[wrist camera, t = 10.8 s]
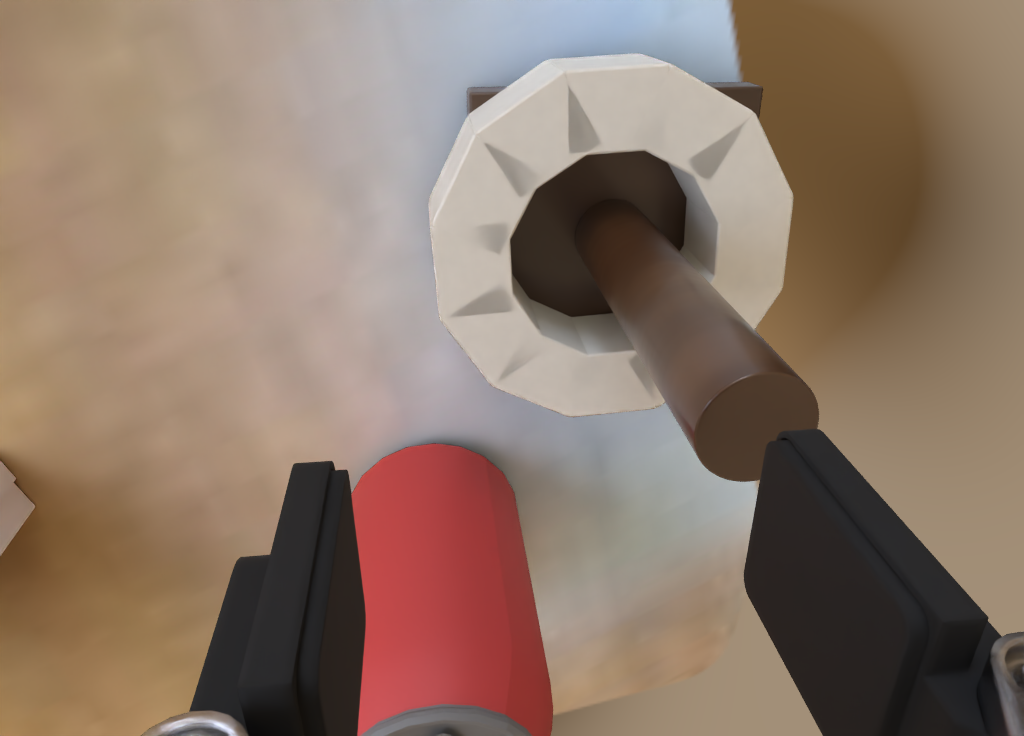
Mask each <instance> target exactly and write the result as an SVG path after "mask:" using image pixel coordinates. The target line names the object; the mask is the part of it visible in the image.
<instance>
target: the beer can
mask: <svg viewBox="0 0 1024 736" xmlns="http://www.w3.org/2000/svg"><path fill="white" fill-rule="evenodd" d="M351 497H352V505H353V513H354V521H355V529H356V537H357V544H358V552H359V560H360V568H361V576H362V584H363V592H364V600H365V611H366V630H365V643H364V656H363V669H362V682H361V695H360V708H359V720H358V733H357V736H550V735H551V731H552V718H553V702H552V694H551V685H550V679H549V674H548V668H547V663H546V658H545V653H544V647H543V642H542V637H541V632H540V626H539V621H538V616H537V610H536V605H535V600H534V595H533V589H532V584H531V579H530V573H529V568H528V563H527V558H526V552H525V547H524V542H523V536H522V531H521V526H520V521H519V515H518V510H517V505H516V499H515V494H514V491H513V489H512V488H511V486H510V484H509V482H508V480H507V479H506V477H505V475H504V473H503V472H502V471H500V470H499V469H498V468H497V467H496V466H494V465H493V464H492V463H491V462H490V461H489V460H487V459H486V458H485V457H484V456H482V455H479V454H477V453H475V452H472V451H470V450H468V449H465V448H463V447H460V446H452V445H444V444H436V443H432V444H425V445H419V446H412V447H406V448H404V449H402V450H400V451H397V452H395V453H393V454H391V455H388V456H386V457H384V458H382V459H381V460H380V461H379V462H378V463H377V464H375V465H374V466H373V467H372V468H371V469H370V470H368V471H367V472H366V473H365V474H364V475H363V476H362V477H361V479H360V481H359V482H358V484H357V486H356V488H355V489H354V491H353V493H352V494H351Z"/></svg>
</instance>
